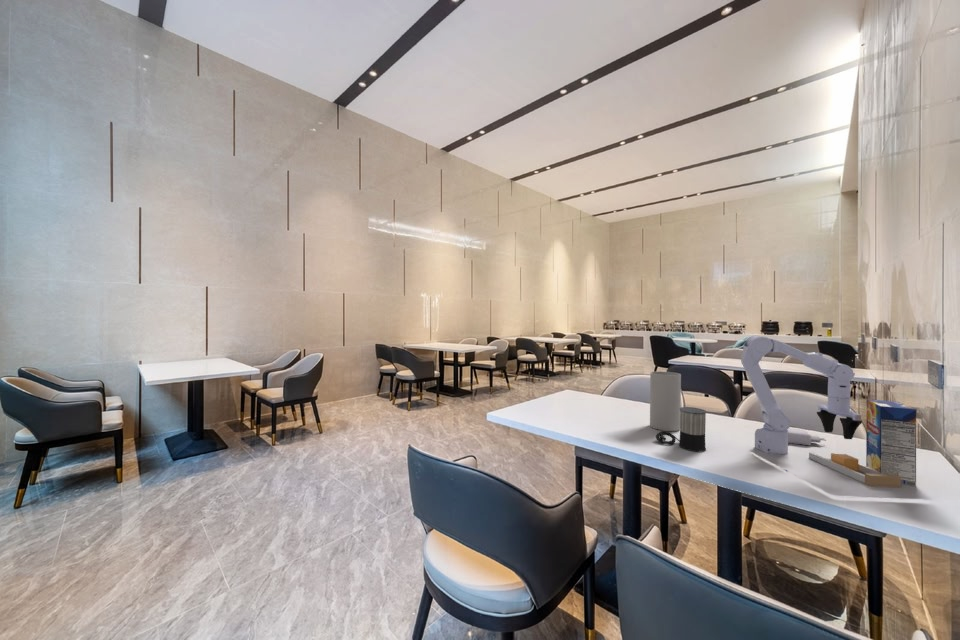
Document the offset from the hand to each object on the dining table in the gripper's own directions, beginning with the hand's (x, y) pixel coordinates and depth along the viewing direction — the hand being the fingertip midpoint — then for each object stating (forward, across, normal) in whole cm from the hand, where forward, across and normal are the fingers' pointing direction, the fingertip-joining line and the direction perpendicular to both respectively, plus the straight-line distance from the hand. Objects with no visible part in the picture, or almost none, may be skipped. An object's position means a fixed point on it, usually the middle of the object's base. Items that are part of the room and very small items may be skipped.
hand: (837, 435), depth 131 cm
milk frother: (+10, +12, +49) cm, 51 cm away
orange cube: (+8, -10, +7) cm, 14 cm away
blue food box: (+10, -15, -3) cm, 18 cm away
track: (+9, -12, +7) cm, 16 cm away
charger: (+9, +20, -3) cm, 22 cm away
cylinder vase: (+10, +35, +44) cm, 58 cm away
